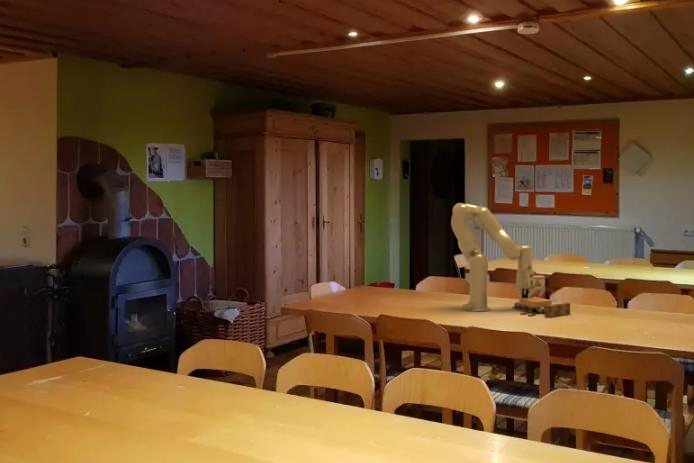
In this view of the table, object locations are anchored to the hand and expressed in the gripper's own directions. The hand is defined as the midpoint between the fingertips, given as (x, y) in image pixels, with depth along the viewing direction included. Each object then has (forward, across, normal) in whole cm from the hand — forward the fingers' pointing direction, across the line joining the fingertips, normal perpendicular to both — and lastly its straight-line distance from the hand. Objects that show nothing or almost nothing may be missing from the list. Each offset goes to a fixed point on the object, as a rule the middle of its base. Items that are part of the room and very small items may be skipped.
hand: (524, 300), depth 394 cm
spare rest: (+4, -14, +11) cm, 19 cm away
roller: (+5, -14, 0) cm, 15 cm away
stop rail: (+4, -24, +1) cm, 25 cm away
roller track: (+4, -7, 0) cm, 8 cm away
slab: (+1, -8, +1) cm, 8 cm away
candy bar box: (+5, +7, -14) cm, 16 cm away
